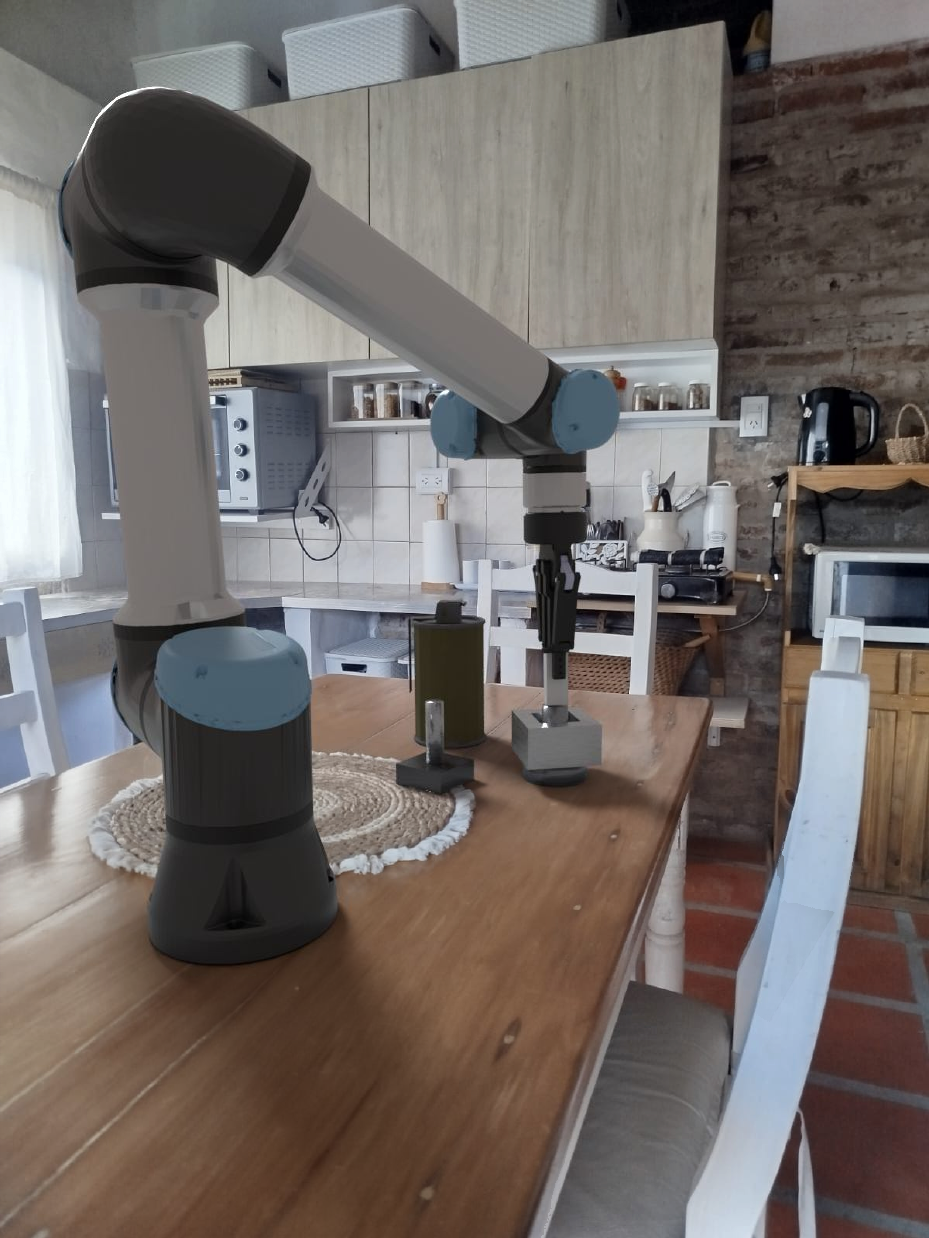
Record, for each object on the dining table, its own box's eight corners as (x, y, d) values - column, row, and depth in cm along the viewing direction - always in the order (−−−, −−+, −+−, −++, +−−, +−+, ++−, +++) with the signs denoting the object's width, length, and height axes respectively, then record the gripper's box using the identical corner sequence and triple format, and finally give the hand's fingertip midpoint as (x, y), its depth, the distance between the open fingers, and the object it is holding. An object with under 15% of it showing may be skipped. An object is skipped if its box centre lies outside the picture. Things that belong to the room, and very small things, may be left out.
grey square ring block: (528, 769, 100) (528, 728, 99) (511, 748, 108) (511, 710, 108) (601, 765, 101) (601, 724, 100) (579, 744, 110) (579, 706, 109)
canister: (488, 729, 127) (488, 597, 124) (483, 749, 116) (482, 605, 114) (416, 728, 128) (414, 596, 125) (405, 747, 117) (402, 605, 115)
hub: (567, 790, 99) (567, 716, 98) (510, 778, 104) (510, 707, 103) (598, 773, 106) (599, 703, 105) (543, 762, 111) (543, 695, 109)
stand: (440, 794, 99) (439, 710, 97) (396, 783, 103) (394, 703, 101) (474, 778, 104) (473, 699, 103) (430, 768, 108) (429, 692, 107)
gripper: (602, 510, 95) (602, 714, 98) (569, 508, 107) (570, 689, 111) (537, 511, 93) (539, 718, 97) (512, 510, 106) (514, 693, 110)
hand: (556, 703), depth 104 cm, fingers closed
